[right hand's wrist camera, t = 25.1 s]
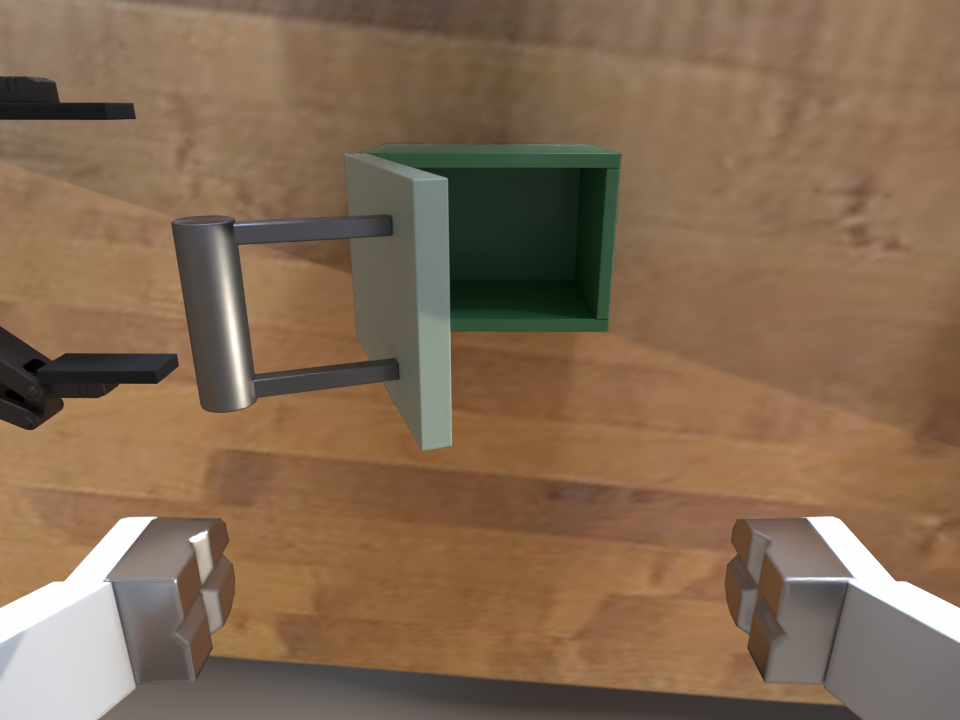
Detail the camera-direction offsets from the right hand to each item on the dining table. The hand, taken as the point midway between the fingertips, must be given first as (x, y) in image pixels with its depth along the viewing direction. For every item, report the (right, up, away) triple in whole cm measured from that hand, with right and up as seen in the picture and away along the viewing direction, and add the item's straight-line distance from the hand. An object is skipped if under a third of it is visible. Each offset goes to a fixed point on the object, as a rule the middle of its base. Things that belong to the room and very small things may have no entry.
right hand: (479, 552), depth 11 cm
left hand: (-18, +9, +24) cm, 31 cm away
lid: (-3, +7, +18) cm, 19 cm away
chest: (0, +12, +33) cm, 36 cm away
